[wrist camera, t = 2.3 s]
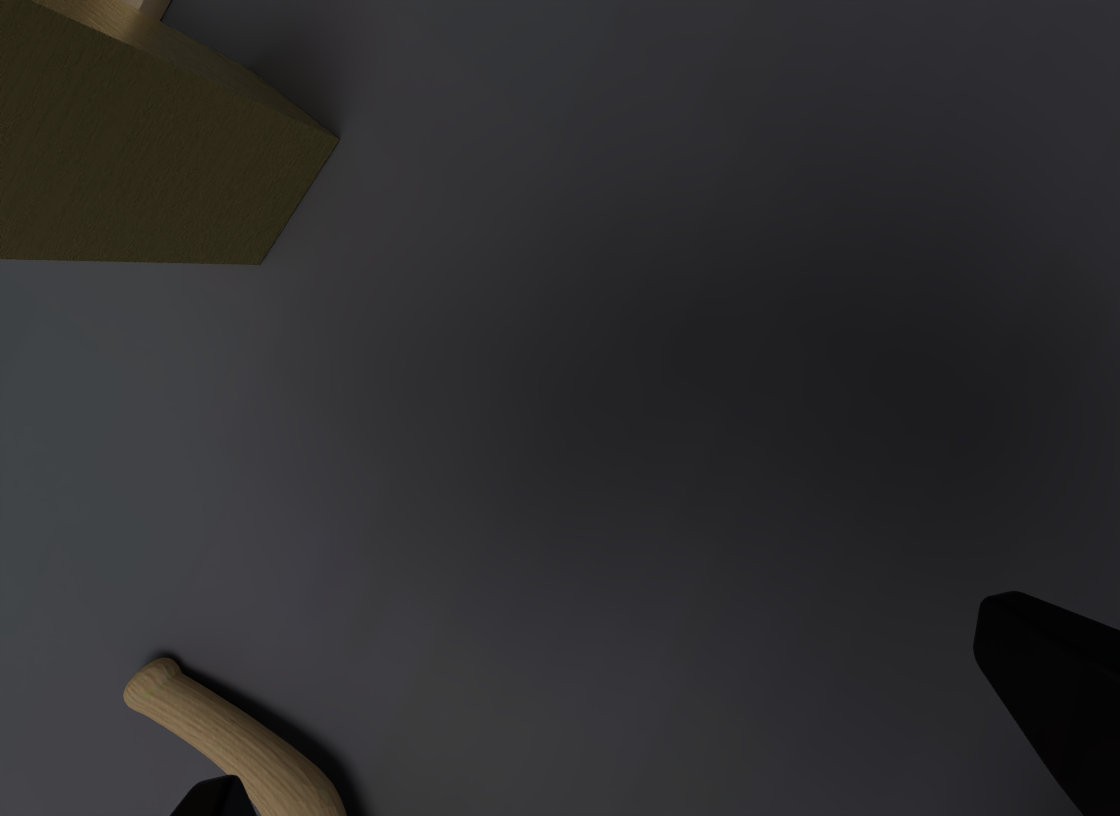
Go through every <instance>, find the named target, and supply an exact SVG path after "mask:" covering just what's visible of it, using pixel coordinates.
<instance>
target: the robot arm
mask: <svg viewBox="0 0 1120 816" xmlns="http://www.w3.org/2000/svg"><path fill="white" fill-rule="evenodd" d="M973 650H974V655H975V659H976V661H977V664H978V666H979V667H980V669H981V671H982V672H983V674H984V675H985V677H986V678H987V680H988V681H989V682H990V684H991V685H992V687H993V688H994V690H995V691H996V693H997V694H998V696H999V697H1000V699H1001V700H1002V702H1003V703H1004V705H1005V706H1006V708H1007V709H1008V711H1009V712H1010V714H1011V715H1012V717H1013V718H1014V720H1015V721H1016V723H1017V724H1018V726H1019V727H1020V729H1021V730H1022V732H1023V733H1024V735H1025V736H1026V738H1027V739H1028V740H1029V742H1030V743H1031V745H1032V746H1033V748H1034V749H1035V751H1036V752H1037V754H1038V755H1039V757H1040V758H1041V760H1042V761H1043V763H1044V764H1045V766H1046V767H1047V768H1048V770H1049V771H1050V773H1051V774H1052V775H1053V777H1054V778H1055V780H1056V781H1057V782H1058V784H1059V785H1060V786H1061V787H1062V789H1063V790H1064V791H1065V793H1066V794H1067V795H1068V797H1069V798H1070V799H1071V800H1072V802H1073V803H1074V804H1075V805H1076V807H1077V808H1078V809H1079V810H1080V812H1081V813H1082V814H1083V815H1084V816H1120V630H1117V629H1115V628H1112V627H1110V626H1107V625H1105V624H1102V623H1099V622H1097V621H1094V620H1092V619H1089V618H1087V617H1084V616H1081V615H1079V614H1076V613H1074V612H1071V611H1069V610H1066V609H1063V608H1061V607H1058V606H1056V605H1053V604H1051V603H1048V602H1045V601H1043V600H1040V599H1038V598H1035V597H1033V596H1030V595H1027V594H1025V593H1022V592H1018V591H1009V592H1005V593H1001V594H996V595H992V596H988V597H986V598H984V600H983V601H982V602H981V604H980V607H979V613H978V619H977V625H976V631H975V637H974V643H973ZM170 816H257V815H256V813H255V810H254V808H253V806H252V803H251V801H250V799H249V796H248V794H247V792H246V790H245V787H244V785H243V783H242V781H241V779H240V778H239V777H238V776H237V775H231V774H229V775H225V776H221V777H217V778H212V779H208V780H204V781H201V782H199V783H197V784H196V785H195V786H194V787H192V789H191V790H190V791H189V792H188V793H187V795H186V796H185V797H184V798H183V800H182V801H181V802H180V803H179V805H178V806H177V807H176V808H175V810H174V811H173V812H172V814H171V815H170Z"/></svg>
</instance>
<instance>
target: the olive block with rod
mask: <svg viewBox="0 0 1120 816" xmlns="http://www.w3.org/2000/svg"><path fill="white" fill-rule="evenodd" d="M338 141H339V139H338V138H337V137H335V136H334V135H333V134H332V133H330V132H329V131H328V130H326V129H325V128H324V127H323V126H321V125H320V124H319V123H318V122H316V121H315V120H314V119H312V118H311V117H310V116H309V115H307V114H306V113H305V112H303V111H302V110H301V109H300V108H298V107H297V106H296V105H294V104H293V103H292V102H291V101H289V100H288V99H287V98H285V97H284V96H283V95H282V94H280V93H279V92H278V91H277V90H275V89H274V88H273V87H271V86H270V85H269V84H268V83H266V82H265V81H264V80H262V79H261V78H260V77H259V76H257V75H256V74H255V73H253V72H252V71H251V70H250V69H248V68H247V67H245V66H244V65H242V64H240V63H238V62H236V61H234V60H232V59H230V58H228V57H227V56H225V55H223V54H221V53H219V52H217V51H215V50H213V49H211V48H210V47H208V46H206V45H204V44H202V43H200V42H198V41H196V40H194V39H193V38H191V37H189V36H187V35H185V34H183V33H181V32H179V31H177V30H176V29H174V28H172V27H170V26H168V25H166V24H164V23H162V22H161V21H159V20H157V19H155V18H153V17H151V16H149V15H147V14H145V13H144V12H142V11H140V10H138V9H136V8H134V7H132V6H130V5H128V4H127V3H125V2H123V1H121V0H0V259H16V260H61V261H106V262H151V263H196V264H241V265H260V264H261V262H262V260H263V259H264V257H265V256H266V254H267V253H268V251H269V249H270V248H271V246H272V245H273V243H274V242H275V240H276V238H277V237H278V235H279V234H280V232H281V231H282V229H283V228H284V226H285V224H286V223H287V221H288V220H289V218H290V217H291V215H292V213H293V212H294V210H295V209H296V207H297V206H298V204H299V202H300V201H301V199H302V198H303V196H304V195H305V193H306V191H307V190H308V188H309V187H310V185H311V184H312V182H313V181H314V179H315V177H316V176H317V174H318V173H319V171H320V170H321V168H322V166H323V165H324V163H325V162H326V160H327V159H328V157H329V155H330V154H331V152H332V151H333V149H334V148H335V146H336V144H337V143H338Z"/></svg>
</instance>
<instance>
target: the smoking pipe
mask: <svg viewBox="0 0 1120 816" xmlns="http://www.w3.org/2000/svg"><path fill="white" fill-rule="evenodd" d="M123 696H124V700H125V702H126V704H127V705H128V706H129V707H130V708H132V709H133V710H135V711H138V712H140V713H142V714H144V715H146V716H148V717H150V718H151V719H153V720H154V721H156V722H158V723H159V724H161V725H162V726H164V727H166V728H167V729H169V730H170V731H172V732H173V733H175V734H176V735H178V736H179V737H181V738H182V739H184V740H185V741H187V742H188V743H190V744H191V745H193V746H194V747H195V748H196V749H198V750H199V751H200V752H202V753H203V754H204V755H206V756H207V757H208V758H209V759H211V760H212V761H213V762H215V763H216V764H217V765H218V766H219V767H220V768H221V769H222V770H223V771H225V772H226V773H227V774H228V775H229V774H231V775H237V776H238V777H239V778H240V779H241V781H242V783H243V785H244V787H245V790H246V792H247V794H248V796H249V798H250V800H251V801H252V802H253V803H254V805H255V806H256V807H257V809H258V810H259V812H260V814H261V815H262V816H347V814H346V811H345V808H344V805H343V803H342V800H341V798H340V796H339V794H338V792H337V790H336V789H335V787H334V785H333V783H332V782H331V781H330V780H329V778H328V777H327V776H326V775H325V774H324V773H323V772H322V771H321V770H320V769H319V768H318V767H317V766H316V765H315V764H313V763H312V762H311V761H310V760H309V759H307V758H306V757H305V756H304V755H302V754H301V753H300V752H299V751H298V750H296V749H295V748H294V747H293V746H291V745H290V744H289V743H287V742H286V741H284V740H283V739H282V738H280V737H279V736H277V735H276V734H275V733H273V732H272V731H270V730H269V729H268V728H266V727H265V726H263V725H262V724H261V723H259V722H258V721H256V720H255V719H254V718H252V717H251V716H249V715H248V714H247V713H245V712H243V711H242V710H240V709H239V708H237V707H236V706H234V705H233V704H231V703H229V702H228V701H226V700H225V699H223V698H222V697H220V696H219V695H217V694H215V693H214V692H212V691H211V690H209V689H208V688H206V687H204V686H203V685H201V684H199V683H197V682H196V681H194V680H192V679H191V678H189V677H187V676H186V675H184V674H182V672H181V670H180V667H179V666H178V664H177V663H176V662H175V661H174V660H172V659H170V658H158V659H155V660H154V661H152V662H150V663H149V664H147V665H146V666H144V667H143V668H142V669H141V670H140V671H139V672H138V673H136V675H135V676H134V677H133V678H132V679H131V680H130V681H129V683H128V684H127V686H126V688H125V691H124V695H123Z"/></svg>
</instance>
